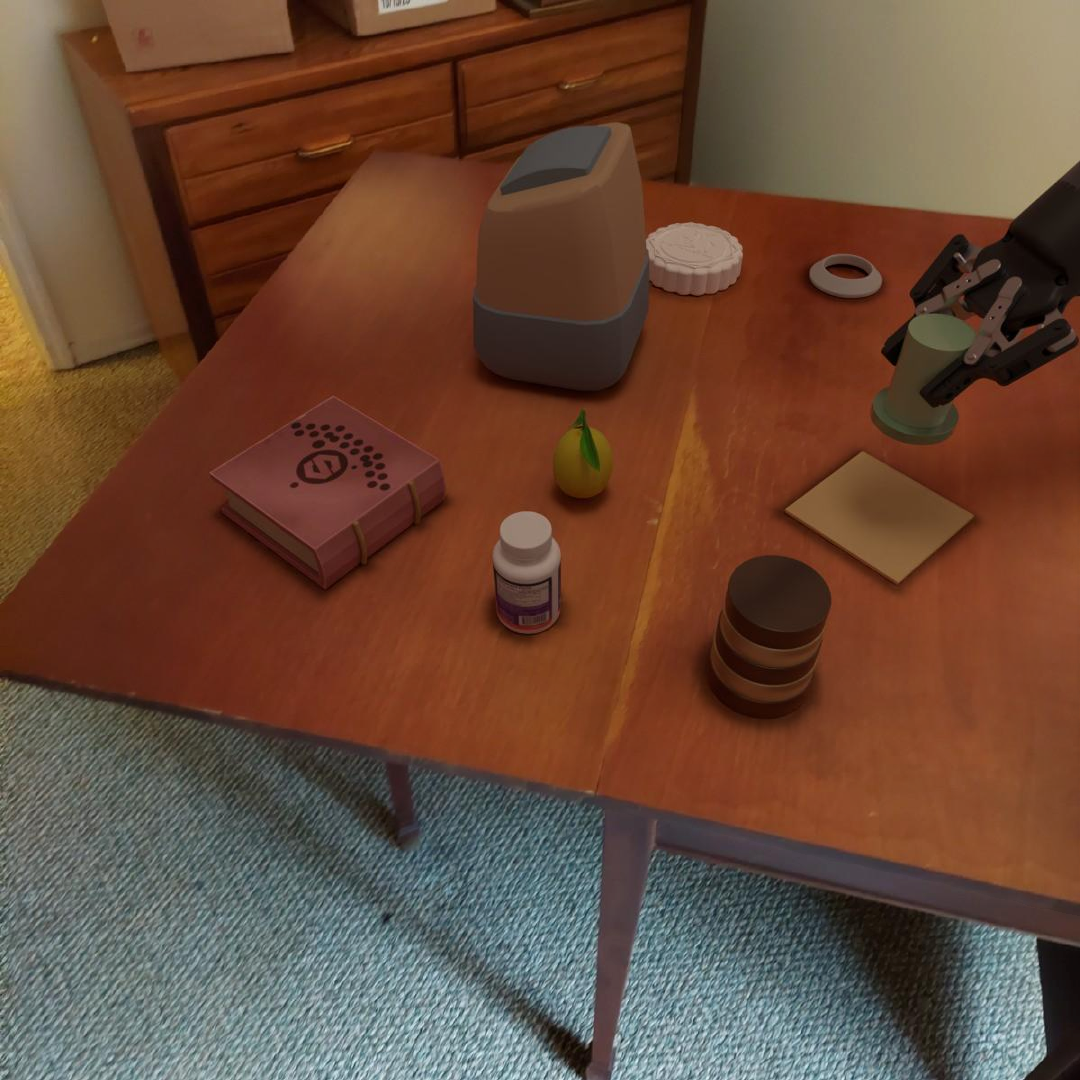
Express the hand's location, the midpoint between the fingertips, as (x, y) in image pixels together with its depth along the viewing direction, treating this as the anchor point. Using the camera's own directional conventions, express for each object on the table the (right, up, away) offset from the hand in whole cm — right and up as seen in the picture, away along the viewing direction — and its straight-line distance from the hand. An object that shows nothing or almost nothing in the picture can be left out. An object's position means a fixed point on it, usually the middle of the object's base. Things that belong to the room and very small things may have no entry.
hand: (907, 379), depth 75 cm
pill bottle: (-30, -19, +4) cm, 36 cm away
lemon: (-25, -9, +14) cm, 30 cm away
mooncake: (-11, +20, +41) cm, 47 cm away
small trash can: (-26, +8, +30) cm, 41 cm away
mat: (+2, -10, +12) cm, 16 cm away
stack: (-12, -23, 0) cm, 26 cm away
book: (-48, -10, +13) cm, 50 cm away
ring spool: (+2, -3, +4) cm, 5 cm away
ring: (+8, +18, +39) cm, 44 cm away
